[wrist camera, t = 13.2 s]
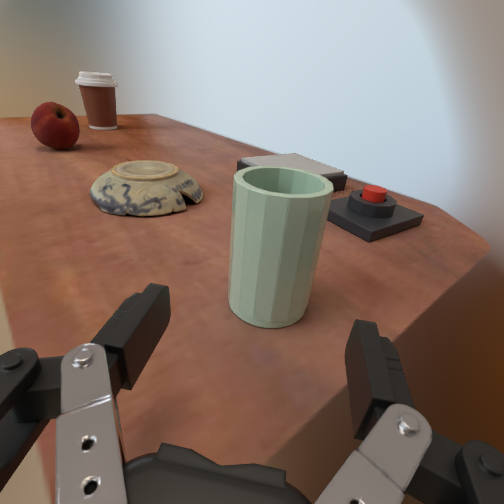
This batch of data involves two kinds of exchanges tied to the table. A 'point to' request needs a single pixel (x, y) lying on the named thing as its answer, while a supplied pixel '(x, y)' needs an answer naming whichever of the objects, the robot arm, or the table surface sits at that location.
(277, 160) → the scale
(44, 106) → the apple
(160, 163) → the decorative bowl
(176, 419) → the table surface
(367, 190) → the button
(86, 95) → the coffee cup
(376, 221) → the panel
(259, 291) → the cup
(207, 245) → the table surface
